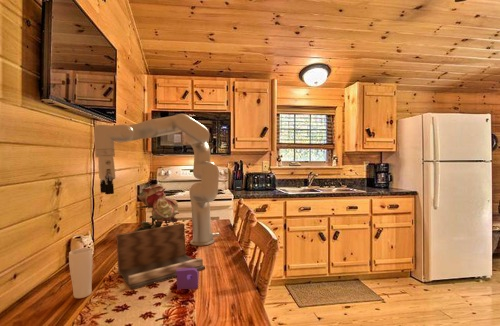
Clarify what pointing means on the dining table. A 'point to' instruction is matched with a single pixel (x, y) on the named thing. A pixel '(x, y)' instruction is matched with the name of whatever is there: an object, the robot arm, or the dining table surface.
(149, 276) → the stand
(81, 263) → the white cup
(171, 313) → the dining table surface
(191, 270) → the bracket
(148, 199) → the rose bouquet
